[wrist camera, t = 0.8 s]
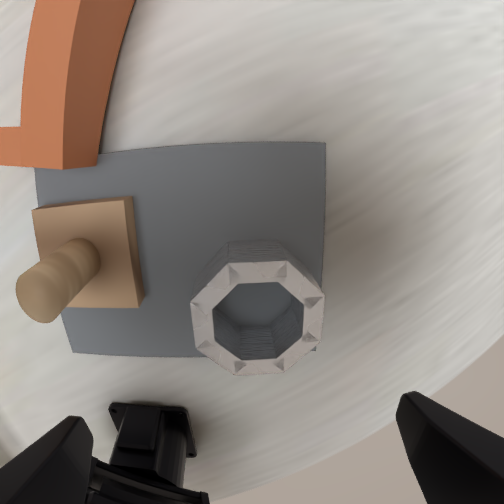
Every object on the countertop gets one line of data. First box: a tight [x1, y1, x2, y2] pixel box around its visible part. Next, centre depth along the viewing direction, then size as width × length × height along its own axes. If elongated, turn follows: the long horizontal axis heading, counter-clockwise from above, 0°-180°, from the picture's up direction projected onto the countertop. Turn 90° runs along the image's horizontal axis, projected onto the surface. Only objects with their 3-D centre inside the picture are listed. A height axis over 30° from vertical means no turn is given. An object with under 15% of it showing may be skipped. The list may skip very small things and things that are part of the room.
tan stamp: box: [16, 196, 145, 323], centre depth 14 cm, size 6×6×6 cm
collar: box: [190, 239, 325, 375], centre depth 17 cm, size 6×6×4 cm
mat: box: [34, 142, 326, 357], centre depth 18 cm, size 13×17×1 cm
